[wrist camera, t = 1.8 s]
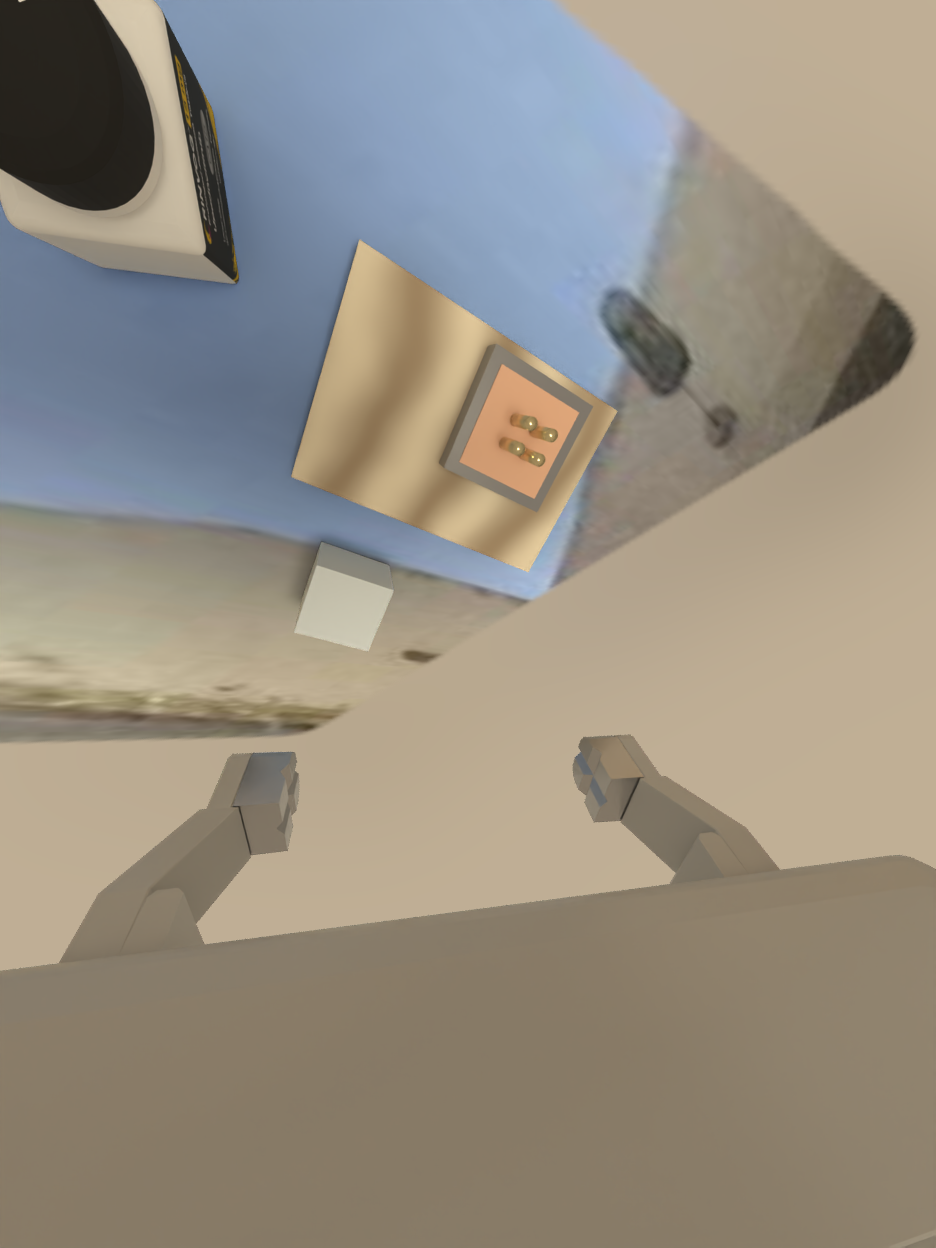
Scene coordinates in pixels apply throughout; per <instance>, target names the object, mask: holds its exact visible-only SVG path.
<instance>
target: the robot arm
mask: <svg viewBox="0 0 936 1248" xmlns="http://www.w3.org/2000/svg"><path fill="white" fill-rule="evenodd" d="M579 749H580V751H581V752H580V754H578V755H577V756H576V757H575V759H574V763H573V776H574V780H575V783H576V785H577V788H578V789H579V790H580V791H581V792H582V793H584V794H585V795H586V799H585V804H586V807H587V809H588V811H589V813H590V815H591V817H592V819H593V821H594V822H608V821H621V823H622V824H623V825H624V826H626V827H627V828H628V829H629V830H630V831H631V832H632V833H633V834H634V835H635V836H636V837H637V838H639V839H640V840H641V841H642V842H643V843H644V844H645V845H646V846H647V847H648V848H649V849H650V850H651V851H653V852H654V853H655V854H656V855H657V856H658V857H659V858H660V859H661V860H662V861H663V862H664V863H666V864H667V865H668V866H669V867H670V868H671V869H672V870H673V871H674V872H676V874H675V876H674V877H673V879H672V880H671V882H670V884H667V885H660V886H652V887H645V888H637V889H629V890H622V891H613V892H606V893H599V894H591V895H583V896H575V897H567V898H560V899H552V900H545V901H536V902H529V903H521V904H513V905H506V906H498V907H491V908H483V909H475V910H468V911H460V912H452V913H445V914H437V915H430V916H422V917H414V918H407V919H399V920H391V921H383V922H375V923H367V924H360V925H352V926H344V927H337V928H329V929H321V930H314V931H306V932H298V933H290V934H283V935H275V936H267V937H259V938H252V939H244V940H236V941H229V942H220V943H213V944H206V945H204V942H203V940H202V937H201V935H200V932H199V930H198V927H197V925H196V923H197V922H198V921H199V920H200V918H201V917H202V916H203V915H204V914H205V912H206V911H207V910H208V909H209V908H210V906H211V905H212V904H213V903H214V901H215V900H216V899H217V898H218V897H219V895H220V894H221V893H222V892H223V890H224V889H225V888H226V887H227V886H228V884H229V883H230V882H231V881H232V880H233V878H234V877H235V876H236V875H237V874H238V872H239V871H240V870H241V869H242V868H243V866H244V865H245V864H246V863H247V861H248V860H249V859H250V858H251V856H250V855H256V854H265V853H273V852H281V851H288V846H289V841H290V837H291V832H292V828H293V823H292V817H291V815H292V814H293V813H294V812H295V811H296V809H297V804H298V797H299V774H298V773H297V772H296V771H295V768H296V763H297V760H296V754H295V752H270V753H247V754H246V753H245V754H232V755H231V756H230V757H229V758H228V760H227V762H226V765H225V767H224V769H223V771H222V774H221V776H220V779H219V781H218V783H217V785H216V788H215V790H214V793H213V795H212V797H211V800H210V802H209V804H208V806H207V809H202V810H199V811H198V812H196V813H195V814H194V815H193V816H192V817H190V818H189V819H188V820H187V821H186V822H184V823H183V824H182V825H181V826H180V827H178V828H177V829H176V830H175V831H174V832H172V833H171V834H170V835H169V836H167V838H165V839H164V840H163V841H161V842H160V843H159V844H158V845H157V846H155V847H154V848H153V849H152V850H151V851H149V852H148V853H147V854H146V855H145V856H143V857H142V858H141V859H140V860H139V861H137V862H136V863H135V864H134V865H133V866H131V867H130V868H129V869H128V870H126V872H124V873H123V874H122V875H121V876H119V877H118V878H117V879H116V880H115V881H113V882H112V883H111V884H110V885H108V886H107V887H106V888H105V889H104V890H103V891H101V892H100V893H99V894H98V895H97V897H96V899H95V901H94V902H93V904H92V906H91V908H90V909H89V911H88V913H87V915H86V916H85V919H84V920H83V922H82V923H81V925H80V927H79V929H78V930H77V932H76V934H75V936H74V937H73V939H72V941H71V943H70V944H69V946H68V948H67V950H66V952H65V953H64V955H63V957H62V958H61V960H60V962H59V963H58V964H50V965H42V966H34V967H26V968H19V969H11V970H3V971H0V1248H936V869H934V868H933V867H931V866H929V865H926V864H924V863H922V862H920V861H918V860H916V859H914V858H911V857H907V856H901V855H893V856H883V857H876V858H868V859H860V860H852V861H845V862H837V863H829V864H822V865H814V866H806V867H799V868H791V869H783V870H780V869H779V868H778V867H777V865H776V864H775V863H774V862H773V860H772V859H771V858H770V857H769V855H768V854H767V853H766V852H765V850H764V849H763V848H762V847H761V845H760V844H759V843H758V842H757V840H756V839H755V838H754V837H753V836H752V834H751V833H750V832H749V831H748V829H747V828H746V827H744V826H743V825H741V824H740V823H738V822H737V821H735V820H733V819H732V818H730V817H729V816H727V815H726V814H724V813H722V812H721V811H719V810H718V809H716V808H715V807H713V806H711V805H710V804H708V803H707V802H705V801H704V800H702V799H701V798H699V797H697V796H696V795H694V794H693V793H691V792H689V791H688V790H687V789H685V788H683V787H682V786H680V785H679V784H677V783H675V782H674V781H672V780H671V779H669V778H668V777H666V776H661V775H660V774H659V773H658V771H657V770H656V768H655V767H654V765H653V764H652V763H651V761H650V760H649V758H648V757H647V755H646V754H645V753H644V751H643V750H642V748H641V747H640V746H639V744H638V743H637V741H636V740H635V738H634V737H633V736H631V735H615V736H597V737H583V739H581V741H580V743H579Z"/></svg>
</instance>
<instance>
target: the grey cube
mask: <svg viewBox="0 0 936 1248" xmlns="http://www.w3.org/2000/svg"><path fill="white" fill-rule="evenodd" d="M393 592H394V587H393V582H392V577H391V572H390V567H389V565H387V564H384V563H381V562H378V561H375V560H372V559H370V558H367V557H364V556H361V555H358V554H355V553H353V552H350V551H347V550H344V549H341V548H338V547H335V546H333V545H330V544H327V543H324V542H321V544H320V547H319V550H318V553H317V556H316V559H315V562H314V565H313V568H312V571H311V574H310V577H309V580H308V583H307V586H306V589H305V592H304V595H303V598H302V601H301V604H300V608H299V613H298V617H297V621H296V626H295V630H294V633H298V634H302V635H306V636H310V637H314V638H318V639H321V640H325V641H329V642H333V643H337V644H341V645H345V646H349V647H353V648H356V649H360V650H364V651H369V648H370V646H371V644H372V641H373V639H374V637H375V634H376V632H377V630H378V627H379V625H380V623H381V620H382V618H383V616H384V613H385V611H386V608H387V606H388V604H389V601H390V599H391V597H392V594H393Z"/></svg>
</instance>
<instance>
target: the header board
mask: <svg viewBox="0 0 936 1248" xmlns="http://www.w3.org/2000/svg"><path fill="white" fill-rule="evenodd" d="M616 413H617V411H616V410H615V409H613V408H612V407H610V406H609V405H607V404H606V403H604V402H603V401H601V400H600V399H598V398H597V397H595V396H594V395H592V394H591V393H589V392H588V391H586V390H585V389H583V388H582V387H580V386H579V385H577V384H576V383H574V382H573V381H571V380H570V379H568V378H567V377H565V376H564V375H562V374H561V373H559V372H558V371H556V370H555V369H553V368H552V367H550V366H549V365H547V364H546V363H544V362H543V361H541V360H540V359H538V358H537V357H535V356H534V355H532V354H531V353H529V352H528V351H526V350H525V349H523V348H522V347H520V346H519V345H517V344H516V343H514V342H513V341H511V340H510V339H508V338H507V337H505V336H504V335H502V334H501V333H499V332H498V331H496V330H495V329H493V328H492V327H490V326H489V325H487V324H486V323H484V322H483V321H481V320H480V319H478V318H477V317H475V316H474V315H472V314H471V313H469V312H468V311H466V310H465V309H463V308H462V307H460V306H459V305H457V304H456V303H454V302H453V301H451V300H450V299H448V298H447V297H445V296H444V295H442V294H441V293H439V292H438V291H436V290H435V289H433V288H432V287H430V286H429V285H427V284H426V283H424V282H423V281H421V280H420V279H418V278H417V277H415V276H414V275H412V274H411V273H409V272H408V271H406V270H405V269H403V268H402V267H400V266H399V265H397V264H396V263H394V262H393V261H391V260H390V259H388V258H387V257H385V256H384V255H382V254H381V253H379V252H378V251H376V250H375V249H373V248H372V247H370V246H369V245H367V244H366V243H364V242H363V241H361V240H359V243H358V246H357V250H356V253H355V257H354V260H353V264H352V267H351V271H350V274H349V278H348V281H347V285H346V288H345V292H344V295H343V299H342V302H341V305H340V309H339V312H338V316H337V319H336V323H335V326H334V330H333V333H332V337H331V340H330V344H329V347H328V351H327V354H326V357H325V361H324V364H323V368H322V371H321V375H320V378H319V382H318V385H317V389H316V392H315V396H314V399H313V403H312V406H311V409H310V413H309V416H308V420H307V423H306V427H305V430H304V434H303V437H302V441H301V444H300V448H299V451H298V455H297V458H296V461H295V465H294V468H293V472H292V475H291V477H293V478H295V479H298V480H300V481H303V482H305V483H308V484H310V485H312V486H315V487H317V488H320V489H322V490H325V491H327V492H330V493H332V494H335V495H337V496H340V497H342V498H345V499H347V500H350V501H352V502H355V503H357V504H360V505H362V506H365V507H367V508H370V509H372V510H375V511H377V512H380V513H382V514H385V515H387V516H390V517H392V518H395V519H397V520H400V521H402V522H405V523H407V524H410V525H412V526H415V527H417V528H420V529H422V530H425V531H427V532H430V533H432V534H434V535H437V536H439V537H442V538H444V539H447V540H449V541H452V542H454V543H457V544H459V545H462V546H464V547H467V548H469V549H472V550H474V551H477V552H479V553H482V554H484V555H487V556H489V557H492V558H494V559H497V560H499V561H502V562H504V563H507V564H509V565H512V566H514V567H517V568H519V569H522V570H524V571H527V572H529V570H530V568H531V566H532V565H533V563H534V561H535V559H536V557H537V555H538V554H539V552H540V550H541V548H542V546H543V545H544V543H545V541H546V539H547V537H548V536H549V534H550V532H551V530H552V528H553V527H554V525H555V523H556V521H557V519H558V517H559V516H560V514H561V512H562V510H563V508H564V507H565V505H566V503H567V501H568V499H569V498H570V496H571V494H572V492H573V490H574V489H575V487H576V485H577V483H578V481H579V480H580V478H581V476H582V474H583V472H584V470H585V469H586V467H587V465H588V463H589V461H590V460H591V458H592V456H593V454H594V452H595V451H596V449H597V447H598V445H599V443H600V442H601V440H602V438H603V436H604V434H605V432H606V431H607V429H608V427H609V425H610V423H611V422H612V420H613V418H614V416H615V414H616Z"/></svg>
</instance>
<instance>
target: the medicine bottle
mask: <svg viewBox="0 0 936 1248" xmlns="http://www.w3.org/2000/svg"><path fill="white" fill-rule="evenodd" d="M0 201H1V204H2V206H3V209H4V212H5V215H6V217H7V219H8V221H9V222H10V223H11V224H12V225H13V226H14V227H16V228H17V229H19V230H21V231H23V232H25V233H27V234H29V235H32V236H34V237H36V238H38V239H40V240H43V241H45V242H47V243H49V244H51V245H53V246H56V247H58V248H60V249H62V250H64V251H67V252H69V253H71V254H73V255H75V256H78V257H80V258H82V259H84V260H86V261H88V262H91V263H93V264H95V265H97V266H100V267H103V268H111V269H119V270H127V271H134V272H142V273H150V274H158V275H166V276H174V277H182V278H190V279H198V280H206V281H214V282H222V283H230V284H235V283H237V282H238V279H239V275H238V269H237V262H236V256H235V250H234V243H233V237H232V230H231V224H230V218H229V211H228V205H227V198H226V192H225V186H224V179H223V173H222V166H221V160H220V154H219V147H218V141H217V134H216V128H215V122H214V115H213V111H212V108H211V106H210V104H209V102H208V100H207V98H206V96H205V94H204V92H203V90H202V88H201V86H200V84H199V82H198V80H197V78H196V76H195V74H194V72H193V71H192V69H191V67H190V65H189V63H188V61H187V59H186V57H185V55H184V53H183V51H182V49H181V47H180V45H179V43H178V41H177V39H176V37H175V35H174V33H173V31H172V29H171V27H170V26H169V24H168V22H167V20H166V18H165V16H164V14H163V12H162V10H161V9H160V7H159V6H158V5H157V3H156V2H155V1H154V0H0Z"/></svg>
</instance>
